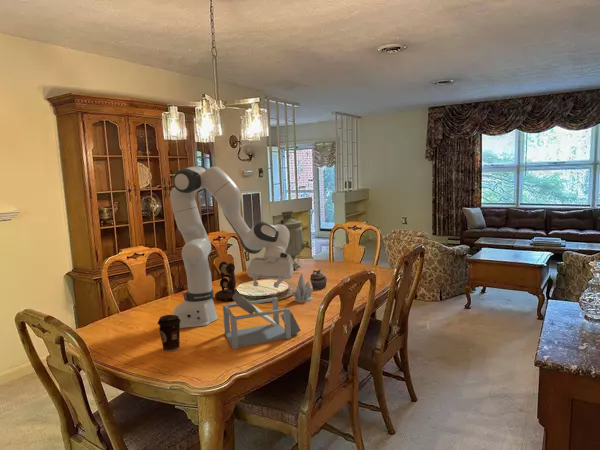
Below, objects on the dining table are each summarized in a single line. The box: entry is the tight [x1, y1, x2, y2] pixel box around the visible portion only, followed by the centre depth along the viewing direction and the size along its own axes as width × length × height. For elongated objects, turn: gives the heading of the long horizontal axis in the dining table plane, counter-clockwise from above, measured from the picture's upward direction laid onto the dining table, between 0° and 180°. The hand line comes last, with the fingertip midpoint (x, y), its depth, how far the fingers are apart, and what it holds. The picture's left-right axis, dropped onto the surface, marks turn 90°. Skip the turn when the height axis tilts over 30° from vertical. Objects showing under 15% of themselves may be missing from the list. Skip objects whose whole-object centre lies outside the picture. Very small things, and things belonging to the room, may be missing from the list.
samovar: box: [272, 210, 313, 272], centre depth 286 cm, size 30×26×40 cm
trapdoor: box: [232, 292, 278, 327], centre depth 173 cm, size 19×13×3 cm
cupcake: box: [309, 269, 328, 290], centre depth 242 cm, size 10×10×10 cm
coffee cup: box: [156, 314, 181, 352], centre depth 165 cm, size 9×8×13 cm
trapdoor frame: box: [222, 296, 292, 350], centre depth 174 cm, size 24×18×12 cm
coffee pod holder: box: [214, 261, 240, 303], centre depth 228 cm, size 15×15×20 cm
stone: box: [279, 311, 301, 337], centre depth 174 cm, size 4×4×9 cm
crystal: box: [292, 272, 314, 303], centre depth 220 cm, size 10×13×15 cm
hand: (265, 286), depth 173 cm, fingers open, 8 cm apart
